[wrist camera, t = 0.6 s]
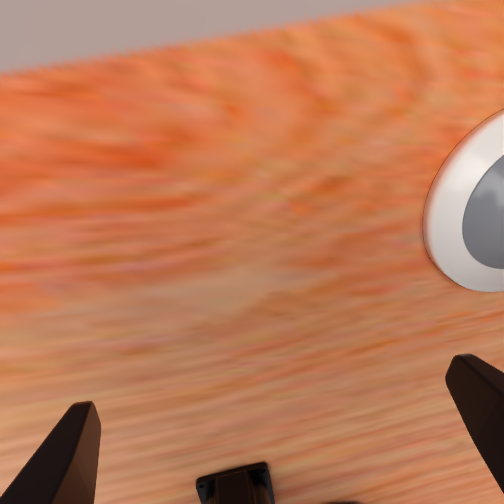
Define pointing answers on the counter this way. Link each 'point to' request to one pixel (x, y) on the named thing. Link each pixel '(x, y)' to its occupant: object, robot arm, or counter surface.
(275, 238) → the counter surface
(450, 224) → the serving plate
